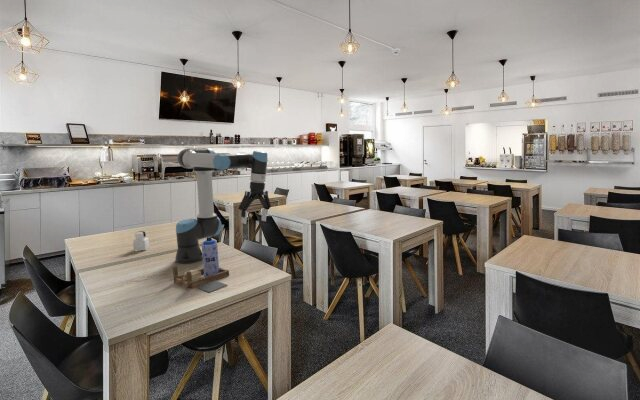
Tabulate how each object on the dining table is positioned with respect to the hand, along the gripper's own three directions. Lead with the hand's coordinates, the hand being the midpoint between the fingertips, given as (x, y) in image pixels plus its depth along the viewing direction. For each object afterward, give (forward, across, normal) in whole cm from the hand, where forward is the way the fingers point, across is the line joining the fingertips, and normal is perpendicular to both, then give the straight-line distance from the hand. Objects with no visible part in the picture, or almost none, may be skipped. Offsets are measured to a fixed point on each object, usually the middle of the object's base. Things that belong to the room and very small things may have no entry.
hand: (253, 222), depth 180 cm
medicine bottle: (+38, -13, +89) cm, 97 cm away
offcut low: (+30, -27, +10) cm, 42 cm away
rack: (+29, -22, +10) cm, 38 cm away
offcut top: (+27, -27, +10) cm, 40 cm away
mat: (+28, -26, -3) cm, 38 cm away
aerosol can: (+29, -16, +10) cm, 35 cm away
